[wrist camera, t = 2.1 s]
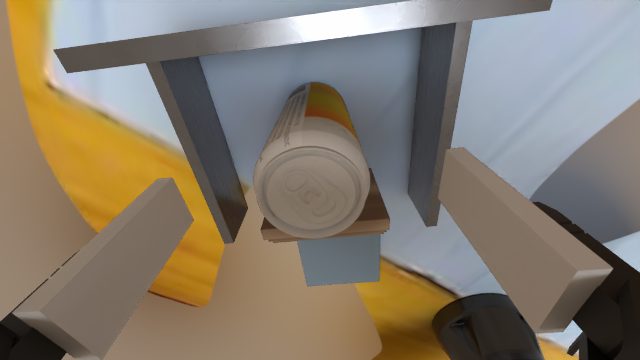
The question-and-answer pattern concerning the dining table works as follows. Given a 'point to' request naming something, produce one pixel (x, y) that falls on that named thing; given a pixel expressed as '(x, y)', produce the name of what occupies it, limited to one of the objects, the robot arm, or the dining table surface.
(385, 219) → the offcuts
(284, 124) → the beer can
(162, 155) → the dining table surface
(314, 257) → the mat
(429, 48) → the grey open frame
